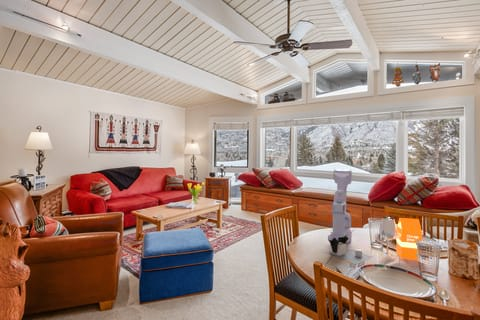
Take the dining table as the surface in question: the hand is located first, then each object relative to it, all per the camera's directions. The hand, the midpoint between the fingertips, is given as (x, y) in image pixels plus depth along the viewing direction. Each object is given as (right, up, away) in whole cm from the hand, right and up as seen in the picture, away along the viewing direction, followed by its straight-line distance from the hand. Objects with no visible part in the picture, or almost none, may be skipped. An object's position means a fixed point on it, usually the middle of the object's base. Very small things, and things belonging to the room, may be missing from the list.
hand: (338, 251), depth 125 cm
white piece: (0, -1, 0) cm, 1 cm away
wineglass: (+26, -3, -1) cm, 26 cm away
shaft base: (+5, -2, -2) cm, 6 cm away
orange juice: (+36, -3, -1) cm, 36 cm away
